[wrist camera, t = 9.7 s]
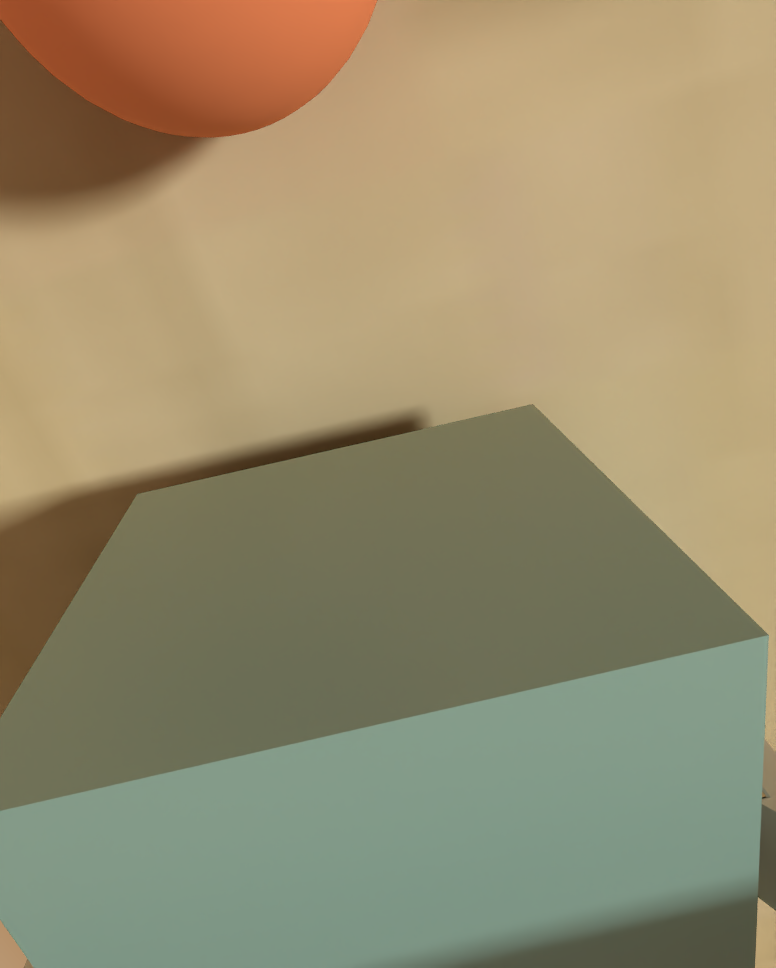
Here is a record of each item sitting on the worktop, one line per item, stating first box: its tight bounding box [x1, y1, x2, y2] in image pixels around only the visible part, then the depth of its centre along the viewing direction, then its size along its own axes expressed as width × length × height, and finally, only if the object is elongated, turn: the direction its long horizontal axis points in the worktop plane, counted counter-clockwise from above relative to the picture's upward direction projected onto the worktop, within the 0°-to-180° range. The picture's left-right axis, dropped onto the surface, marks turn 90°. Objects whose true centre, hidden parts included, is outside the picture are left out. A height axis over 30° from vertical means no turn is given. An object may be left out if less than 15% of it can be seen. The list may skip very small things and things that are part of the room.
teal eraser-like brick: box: [0, 404, 769, 968], centre depth 10 cm, size 10×7×7 cm
